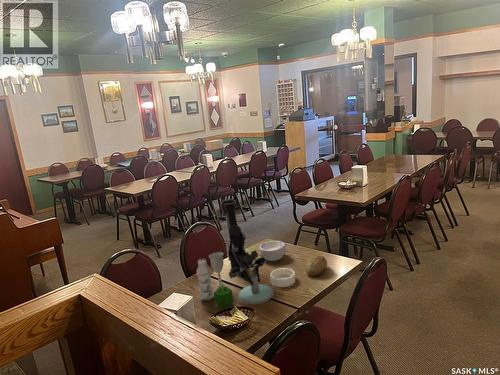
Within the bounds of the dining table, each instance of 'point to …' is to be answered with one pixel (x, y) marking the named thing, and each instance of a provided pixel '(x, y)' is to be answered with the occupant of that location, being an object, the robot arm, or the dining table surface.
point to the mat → (255, 302)
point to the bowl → (282, 277)
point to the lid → (255, 291)
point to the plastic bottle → (205, 280)
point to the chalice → (217, 264)
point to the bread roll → (315, 265)
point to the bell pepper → (223, 297)
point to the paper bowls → (272, 250)
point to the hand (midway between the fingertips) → (256, 283)
